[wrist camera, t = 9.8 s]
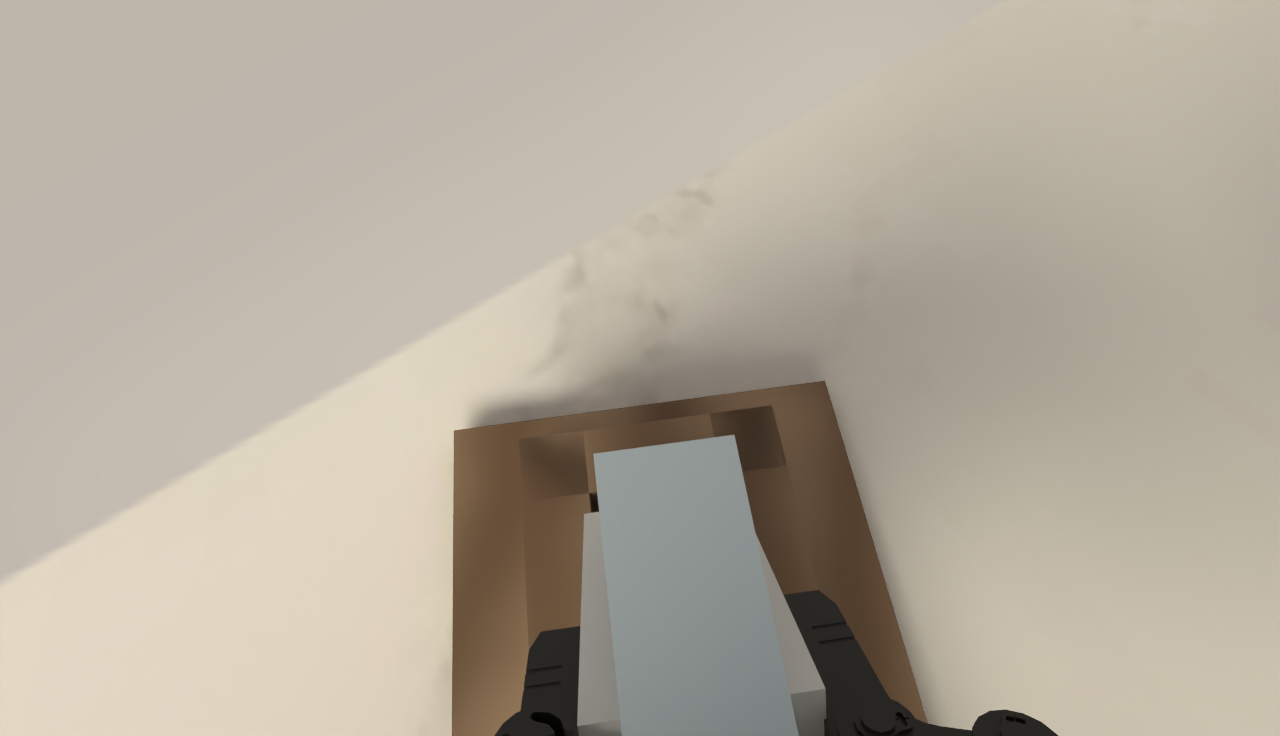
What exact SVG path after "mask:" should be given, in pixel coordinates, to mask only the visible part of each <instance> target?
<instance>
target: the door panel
mask: <svg viewBox="0 0 1280 736" xmlns="http://www.w3.org/2000/svg"><path fill="white" fill-rule="evenodd" d="M593 456H594V466H595V476H596V485H597V495H598V505H599V515H600V525H601V535H602V545H603V555H604V564H605V574H606V584H607V594H608V604H609V614H610V624H611V634H612V643H613V653H614V663H615V673H616V683H617V693H618V703H619V713H620V722H621V732H622V736H799V734H798V729H797V724H796V720H795V715H794V710H793V706H792V701H791V696H790V692H789V687H788V682H787V678H786V673H785V668H784V664H783V659H782V654H781V650H780V645H779V640H778V636H777V631H776V627H775V622H774V617H773V613H772V608H771V603H770V599H769V594H768V589H767V585H766V580H765V575H764V571H763V566H762V561H761V557H760V552H759V547H758V543H757V538H756V533H755V529H754V524H753V519H752V515H751V510H750V505H749V501H748V496H747V491H746V487H745V482H744V477H743V473H742V468H741V463H740V459H739V454H738V449H737V445H736V440H735V435H728V436H721V437H714V438H706V439H699V440H691V441H684V442H677V443H669V444H662V445H655V446H647V447H640V448H632V449H625V450H618V451H610V452H603V453H595V454H593Z"/></svg>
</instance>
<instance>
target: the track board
mask: <svg viewBox="0 0 1280 736" xmlns="http://www.w3.org/2000/svg"><path fill="white" fill-rule="evenodd" d="M728 435H735V440H736V445H737V449H738V454H739V459H740V463H741V468H742V473H743V477H744V482H745V487H746V491H747V496H748V501H749V505H750V510H751V515H752V519H753V524H754V529H755V533H756V535H757V538H758V540H759V542H760V544H761V546H762V549H763V551H764V553H765V555H766V558H767V560H768V562H769V564H770V566H771V569H772V571H773V573H774V575H775V578H776V580H777V582H778V584H779V586H780V589H781V591H782V593H783V595H786V594H793V593H799V592H806V591H813V590H819V591H821V592H822V593H823V594H824V595H826V596H827V597H828V598H829V599H831V600H832V601H833V602H835V603H836V604H837V606H838V608H839V610H840V611H841V613H842V615H843V617H844V619H845V620H846V623H847V625H848V626H849V627H850V629H851V631H852V633H853V634H854V636H855V640H857V642H858V643H859V645H860V647H861V649H862V650H863V652H864V654H865V656H866V658H867V659H868V661H869V663H870V665H871V666H872V668H873V670H874V672H875V673H876V675H877V677H878V679H879V681H880V682H881V684H882V686H883V688H884V689H885V691H886V693H887V695H888V696H889V697H890V699H892V700H895V701H897V702H899V703H900V704H901V705H903V706H904V707H905V708H906V709H908V710H909V711H910V712H911V713H912V715H913V716H914V718H915V719H918V720H920V721H922V722H925V723H927V720H926V717H925V713H924V710H923V707H922V703H921V700H920V697H919V693H918V690H917V687H916V683H915V680H914V677H913V673H912V670H911V667H910V663H909V660H908V657H907V653H906V650H905V647H904V643H903V640H902V637H901V633H900V630H899V627H898V623H897V620H896V617H895V613H894V610H893V607H892V603H891V600H890V597H889V593H888V590H887V587H886V583H885V580H884V577H883V573H882V570H881V567H880V563H879V560H878V557H877V553H876V550H875V547H874V543H873V540H872V537H871V533H870V530H869V527H868V523H867V520H866V517H865V513H864V510H863V507H862V503H861V500H860V497H859V493H858V490H857V487H856V483H855V480H854V477H853V473H852V470H851V467H850V463H849V460H848V457H847V453H846V450H845V447H844V443H843V440H842V437H841V433H840V430H839V427H838V423H837V420H836V417H835V413H834V410H833V407H832V403H831V400H830V397H829V393H828V390H827V387H826V383H825V381H820V382H813V383H805V384H798V385H790V386H783V387H776V388H768V389H761V390H753V391H746V392H738V393H731V394H723V395H716V396H708V397H701V398H694V399H686V400H679V401H671V402H664V403H656V404H649V405H641V406H634V407H626V408H619V409H612V410H604V411H597V412H589V413H582V414H574V415H567V416H559V417H552V418H544V419H537V420H530V421H522V422H515V423H507V424H500V425H492V426H485V427H477V428H470V429H462V430H455V431H454V514H453V664H452V736H494V735H495V734H496V733H497V731H498V730H499V728H500V727H501V725H502V724H503V723H504V722H505V721H506V720H508V719H509V718H510V717H511V716H513V715H514V714H515V713H517V712H519V711H520V710H521V703H522V696H523V691H524V681H525V674H526V667H527V660H528V653H529V649H530V648H531V646H532V645H533V643H534V641H535V640H536V638H537V637H538V635H539V634H540V632H541V631H548V630H555V629H562V628H569V627H576V626H580V624H581V594H582V563H583V532H584V514H587V513H594V512H599V505H598V495H597V485H596V476H595V466H594V456H593V454H595V453H603V452H610V451H618V450H625V449H632V448H640V447H647V446H655V445H662V444H669V443H677V442H684V441H691V440H699V439H706V438H714V437H721V436H728ZM927 724H928V723H927Z"/></svg>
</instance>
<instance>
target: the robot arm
mask: <svg viewBox="0 0 1280 736" xmlns="http://www.w3.org/2000/svg"><path fill="white" fill-rule="evenodd" d="M756 538H757V535H756ZM757 543H758V547H759V552H760V557H761V561H762V566H763V571H764V575H765V580H766V585H767V589H768V594H769V599H770V603H771V608H772V613H773V617H774V622H775V627H776V631H777V636H778V640H779V645H780V650H781V654H782V659H783V664H784V668H785V673H786V678H787V682H788V687H789V692H790V696H791V701H792V706H793V710H794V715H795V720H796V724H797V729H798V734H799V736H1058V735H1057V734H1056V733H1054V732H1053V731H1052V730H1051V729H1049V728H1048V727H1047V726H1046V725H1044V724H1043V723H1042V722H1040V721H1038V720H1036V719H1034V718H1032V717H1030V716H1027V715H1025V714H1023V713H1018V712H1013V711H1009V710H997V711H989V712H987V713H985V714H983V715H981V716H979V717H978V719H977V720H976V722H975V724H974V726H973V728H972V731H971V730H963V729H956V728H948V727H941V726H936V725H932V724H927V723H925V722H922V721H920V720H918V719H915V718H914V716H913V715H912V713H911V712H910V711H909V710H908V709H906V708H905V707H904V706H903V705H901V704H900V703H899V702H897V701H895V700H892V699H890V697H889V696H888V695H887V693H886V691H885V689H884V688H883V686H882V684H881V682H880V681H879V679H878V677H877V675H876V673H875V672H874V670H873V668H872V666H871V665H870V663H869V661H868V659H867V658H866V656H865V654H864V652H863V650H862V649H861V647H860V645H859V643H858V642H857V640H855V636H854V634H853V633H852V631H851V629H850V627H849V626H848V625H847V623H846V620H845V619H844V617H843V615H842V613H841V611H840V610H839V608H838V606H837V604H836V603H835V602H833V601H832V600H831V599H829V598H828V597H827V596H826V595H824V594H823V593H822V592H821V591H819V590H813V591H806V592H799V593H793V594H786V595H783V593H782V591H781V589H780V586H779V584H778V582H777V580H776V578H775V575H774V573H773V571H772V569H771V566H770V564H769V562H768V560H767V558H766V555H765V553H764V551H763V549H762V546H761V544H760V542H759V540H758V538H757ZM494 736H622V732H621V722H620V713H619V703H618V693H617V683H616V673H615V663H614V653H613V643H612V634H611V624H610V614H609V604H608V594H607V584H606V574H605V564H604V555H603V545H602V535H601V525H600V515H599V512H594V513H587V514H584V532H583V563H582V594H581V624H580V626H576V627H569V628H562V629H555V630H548V631H541V632H540V634H539V635H538V637H537V638H536V640H535V641H534V643H533V645H532V646H531V648H530V649H529V653H528V660H527V667H526V674H525V681H524V691H523V696H522V703H521V710H520V711H519V712H517V713H515V714H514V715H513V716H511V717H510V718H509V719H508V720H506V721H505V722H504V723H503V724H502V725H501V727H500V728H499V730H498V731H497V733H496V734H495V735H494Z"/></svg>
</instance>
